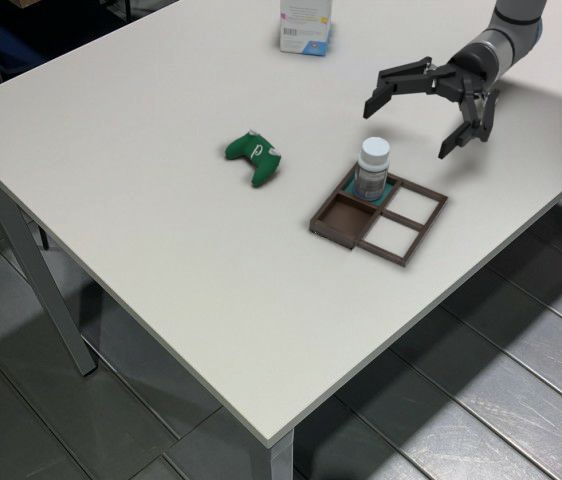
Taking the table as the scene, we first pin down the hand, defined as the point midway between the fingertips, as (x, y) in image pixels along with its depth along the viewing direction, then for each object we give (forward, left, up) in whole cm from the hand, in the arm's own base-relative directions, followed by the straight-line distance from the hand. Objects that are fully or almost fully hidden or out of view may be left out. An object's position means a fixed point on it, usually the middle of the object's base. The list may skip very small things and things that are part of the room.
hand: (402, 130), depth 91 cm
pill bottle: (+1, +6, -8) cm, 10 cm away
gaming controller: (+20, +10, -8) cm, 24 cm away
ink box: (+30, -24, -8) cm, 39 cm away
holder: (-2, +10, -8) cm, 13 cm away
